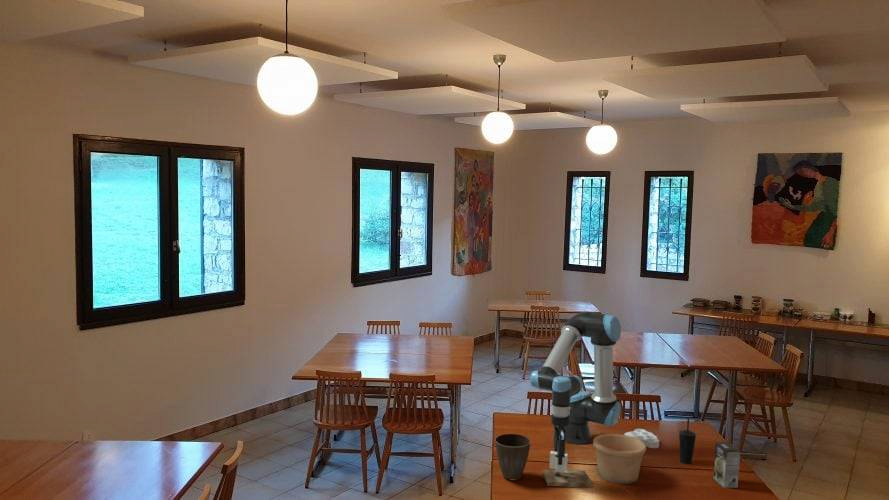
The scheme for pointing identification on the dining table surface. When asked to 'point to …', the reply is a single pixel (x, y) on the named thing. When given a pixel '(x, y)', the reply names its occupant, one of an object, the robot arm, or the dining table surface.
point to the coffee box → (726, 464)
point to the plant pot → (512, 454)
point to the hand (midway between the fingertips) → (558, 469)
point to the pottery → (618, 457)
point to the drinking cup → (686, 444)
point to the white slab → (553, 463)
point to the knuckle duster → (645, 437)
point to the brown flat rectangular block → (567, 478)
